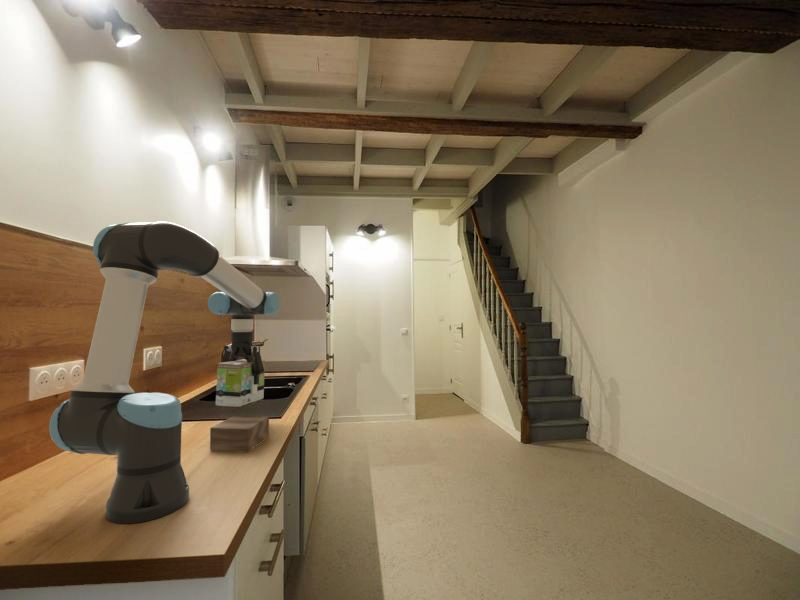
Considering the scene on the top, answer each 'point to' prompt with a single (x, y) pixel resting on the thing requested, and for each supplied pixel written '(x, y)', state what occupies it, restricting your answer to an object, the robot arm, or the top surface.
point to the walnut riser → (239, 433)
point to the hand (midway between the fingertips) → (241, 392)
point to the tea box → (237, 384)
